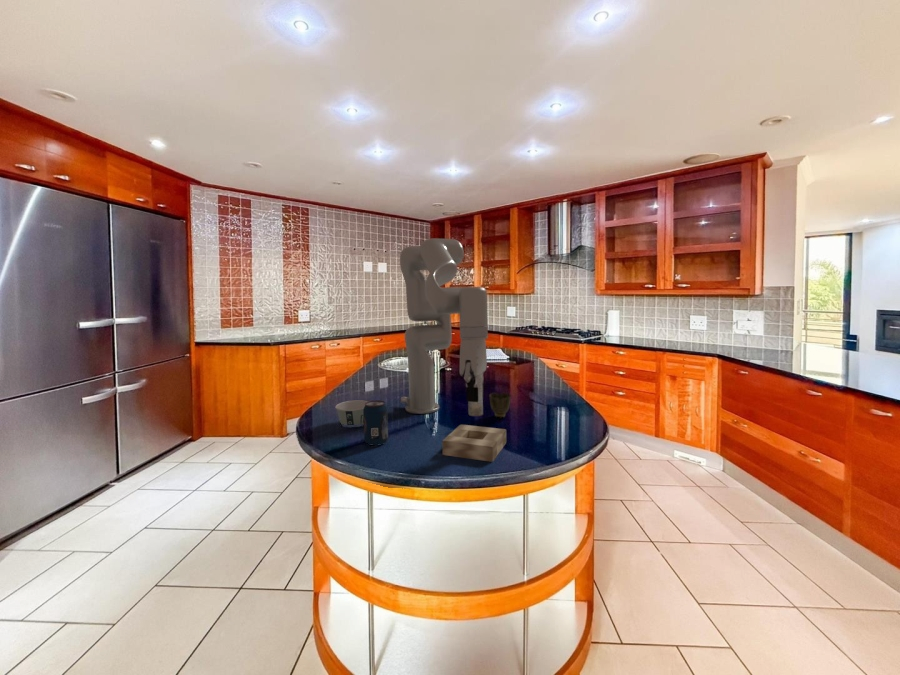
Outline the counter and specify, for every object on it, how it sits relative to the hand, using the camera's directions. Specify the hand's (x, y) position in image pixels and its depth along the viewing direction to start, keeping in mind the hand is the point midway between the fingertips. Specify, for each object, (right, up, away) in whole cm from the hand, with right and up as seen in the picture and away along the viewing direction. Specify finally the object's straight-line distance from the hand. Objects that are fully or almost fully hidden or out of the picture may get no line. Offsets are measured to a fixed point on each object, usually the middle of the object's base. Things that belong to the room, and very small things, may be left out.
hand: (475, 398), depth 111 cm
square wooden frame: (0, -14, +2) cm, 14 cm away
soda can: (-29, -14, +8) cm, 33 cm away
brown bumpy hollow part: (+11, -11, +30) cm, 34 cm away
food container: (-39, -13, +27) cm, 49 cm away
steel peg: (0, -4, 0) cm, 4 cm away
